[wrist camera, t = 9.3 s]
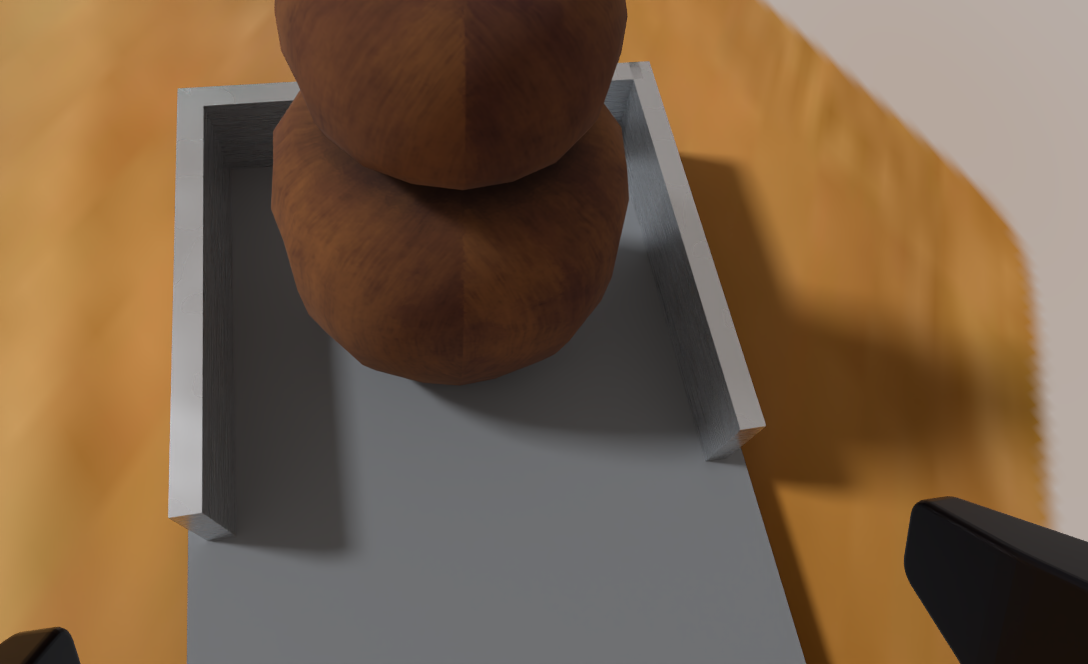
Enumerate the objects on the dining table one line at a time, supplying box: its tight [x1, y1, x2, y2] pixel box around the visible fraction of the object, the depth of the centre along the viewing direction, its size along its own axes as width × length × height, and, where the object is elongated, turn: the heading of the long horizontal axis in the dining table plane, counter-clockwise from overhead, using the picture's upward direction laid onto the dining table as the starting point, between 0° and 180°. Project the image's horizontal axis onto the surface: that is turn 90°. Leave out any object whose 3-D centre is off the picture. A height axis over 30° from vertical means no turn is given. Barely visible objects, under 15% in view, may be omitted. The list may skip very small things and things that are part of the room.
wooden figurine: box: [271, 0, 629, 386], centre depth 13 cm, size 7×6×15 cm
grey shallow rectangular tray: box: [168, 61, 806, 664], centre depth 18 cm, size 17×13×4 cm
